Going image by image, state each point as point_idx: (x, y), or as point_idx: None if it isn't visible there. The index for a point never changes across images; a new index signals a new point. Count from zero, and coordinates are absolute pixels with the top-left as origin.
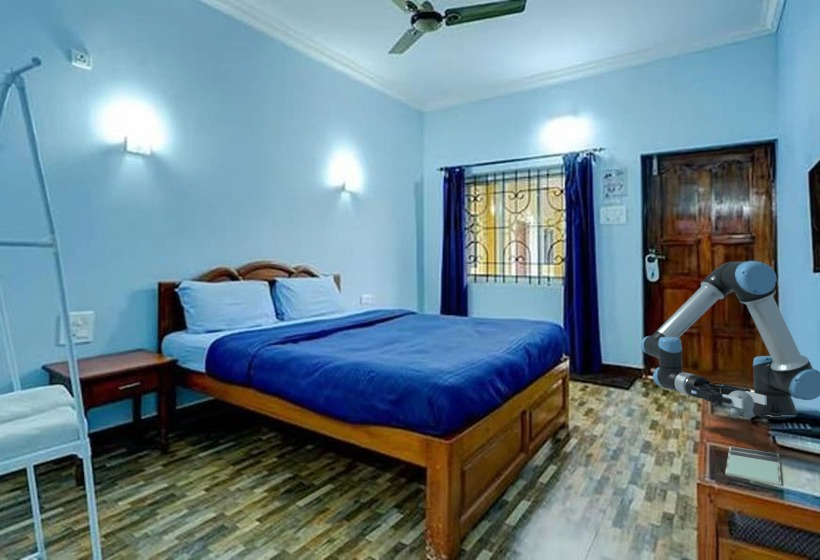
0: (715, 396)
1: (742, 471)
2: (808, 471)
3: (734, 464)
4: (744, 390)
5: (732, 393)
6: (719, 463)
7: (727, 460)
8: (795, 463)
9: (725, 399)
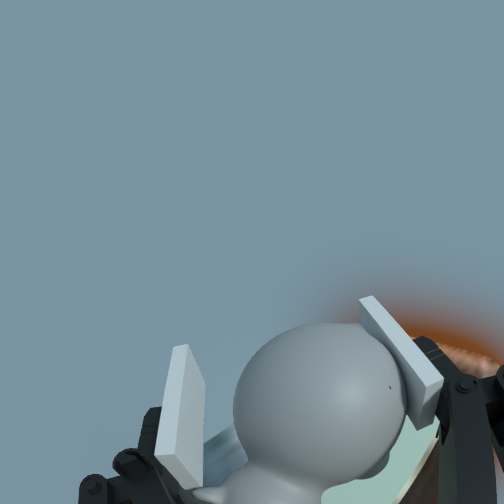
0: (490, 384)
1: (406, 420)
2: (230, 434)
3: (404, 459)
4: (140, 484)
5: (374, 352)
6: (434, 481)
7: (405, 491)
8: (212, 473)
9: (437, 352)
